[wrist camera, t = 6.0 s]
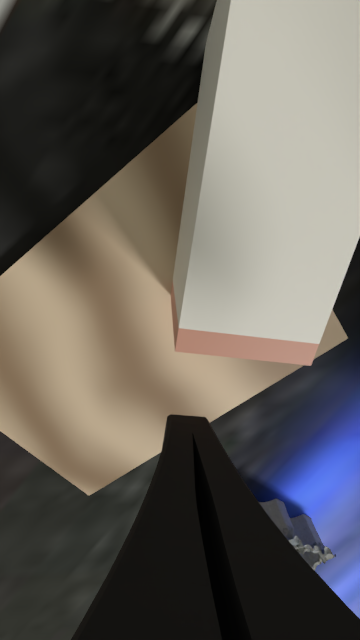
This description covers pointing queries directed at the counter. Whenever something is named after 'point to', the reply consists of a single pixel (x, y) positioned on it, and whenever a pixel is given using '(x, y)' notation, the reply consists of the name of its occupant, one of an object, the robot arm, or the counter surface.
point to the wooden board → (113, 329)
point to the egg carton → (299, 533)
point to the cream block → (270, 181)
